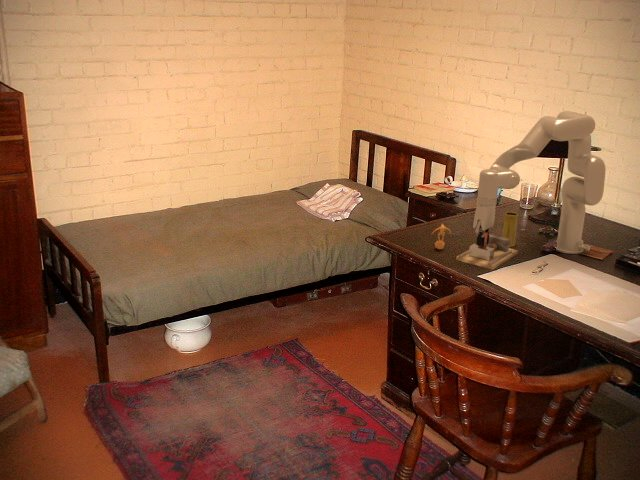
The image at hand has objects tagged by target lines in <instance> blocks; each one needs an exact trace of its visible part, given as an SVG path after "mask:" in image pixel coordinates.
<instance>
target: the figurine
mask: <svg viewBox="0 0 640 480" xmlns="http://www.w3.org/2000/svg"><path fill="white" fill-rule="evenodd" d="M436 231H439V232H438V234H437V237H438V240H437V241H436V242H435V244H434V246H435V249H437V250H439V251H440V250H443V249H444V247H445V241H444V236H445V234H446V232H445V231H449V233H450V235H452V232H451V229H450V228H448V227H446V226H445V225H444V223H441V225H440V226H439V227H438V228H436V229H434V230H433V231H432V233H431V235H433V234H434V233H435V232H436ZM441 235H442V237H440V236H441Z"/></svg>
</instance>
